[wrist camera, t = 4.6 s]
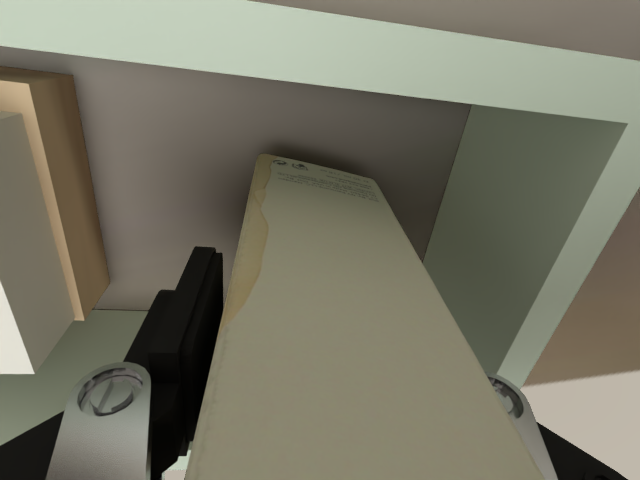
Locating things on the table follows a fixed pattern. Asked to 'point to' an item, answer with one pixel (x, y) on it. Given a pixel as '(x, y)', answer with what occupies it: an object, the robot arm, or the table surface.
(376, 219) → the skincare box
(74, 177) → the offcut lower
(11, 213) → the offcut upper
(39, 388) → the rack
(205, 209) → the table surface
